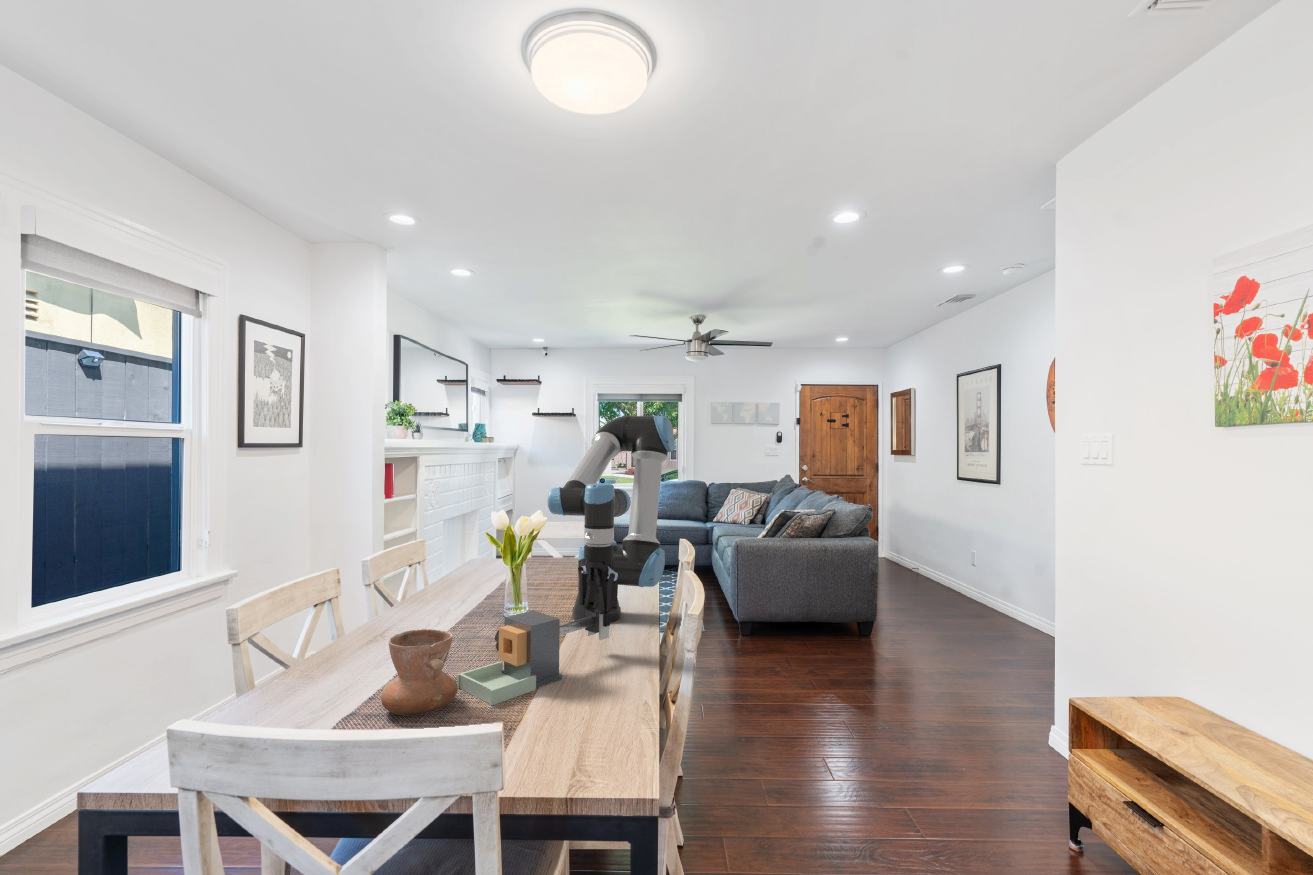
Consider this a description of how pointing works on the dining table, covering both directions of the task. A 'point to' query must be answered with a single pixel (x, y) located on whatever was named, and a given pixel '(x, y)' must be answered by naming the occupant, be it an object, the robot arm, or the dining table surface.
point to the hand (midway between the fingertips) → (597, 636)
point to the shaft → (582, 623)
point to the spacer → (519, 645)
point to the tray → (494, 684)
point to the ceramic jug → (419, 673)
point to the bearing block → (537, 647)
